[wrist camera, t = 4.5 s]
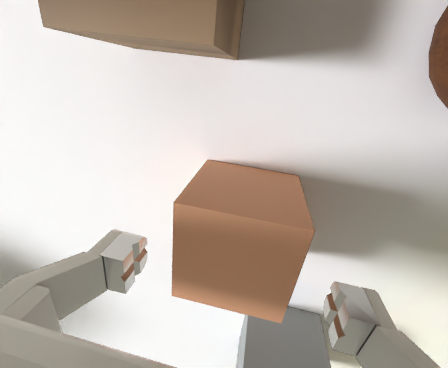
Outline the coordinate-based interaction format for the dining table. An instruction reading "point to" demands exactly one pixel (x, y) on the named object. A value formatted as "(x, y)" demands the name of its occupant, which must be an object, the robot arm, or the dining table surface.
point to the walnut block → (153, 24)
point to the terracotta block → (240, 239)
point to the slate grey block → (283, 342)
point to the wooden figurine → (440, 58)
